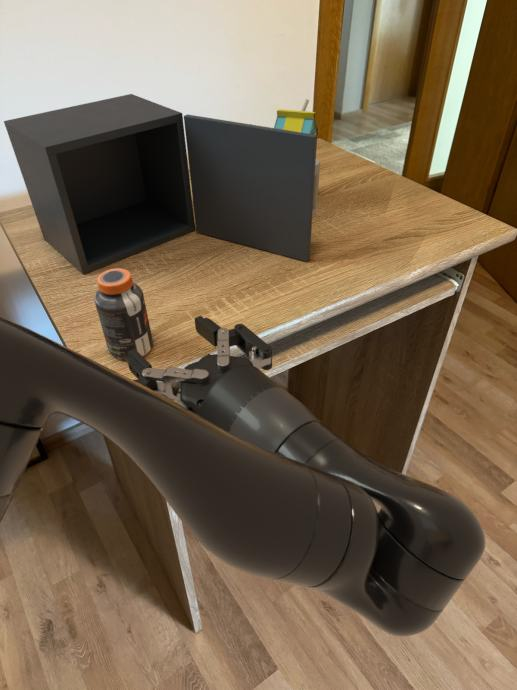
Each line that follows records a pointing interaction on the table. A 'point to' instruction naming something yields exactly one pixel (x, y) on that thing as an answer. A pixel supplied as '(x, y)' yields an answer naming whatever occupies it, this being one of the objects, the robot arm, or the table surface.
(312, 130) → the carton
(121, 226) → the cupboard
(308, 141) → the cupboard door
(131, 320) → the pill bottle
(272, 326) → the table surface
